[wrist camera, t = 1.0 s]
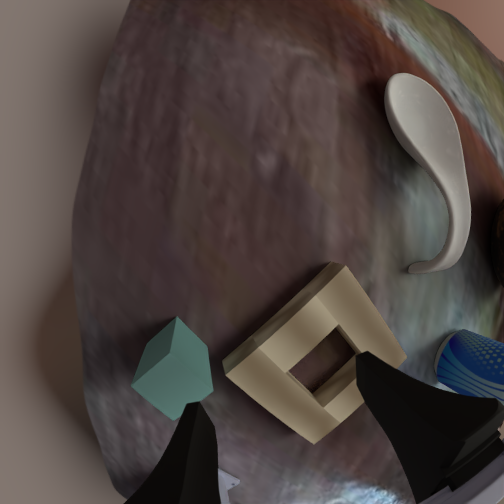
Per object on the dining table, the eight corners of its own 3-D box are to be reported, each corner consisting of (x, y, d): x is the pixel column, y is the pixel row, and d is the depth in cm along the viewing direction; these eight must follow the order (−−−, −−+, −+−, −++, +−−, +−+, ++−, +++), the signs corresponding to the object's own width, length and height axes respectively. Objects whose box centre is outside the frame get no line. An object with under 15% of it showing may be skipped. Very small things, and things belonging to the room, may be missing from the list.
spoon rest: (361, 74, 27) (395, 46, 20) (428, 94, 29) (463, 77, 22) (384, 277, 29) (428, 289, 22) (448, 265, 31) (489, 272, 24)
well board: (304, 429, 28) (313, 444, 25) (221, 360, 26) (225, 375, 23) (392, 348, 29) (407, 357, 26) (330, 261, 27) (345, 265, 24)
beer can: (468, 321, 33) (549, 348, 17) (459, 369, 33) (530, 405, 18) (435, 335, 31) (527, 374, 15) (425, 387, 32) (502, 436, 16)
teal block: (177, 371, 25) (173, 420, 17) (147, 343, 24) (130, 386, 16) (207, 346, 25) (213, 390, 17) (176, 316, 25) (169, 352, 17)
